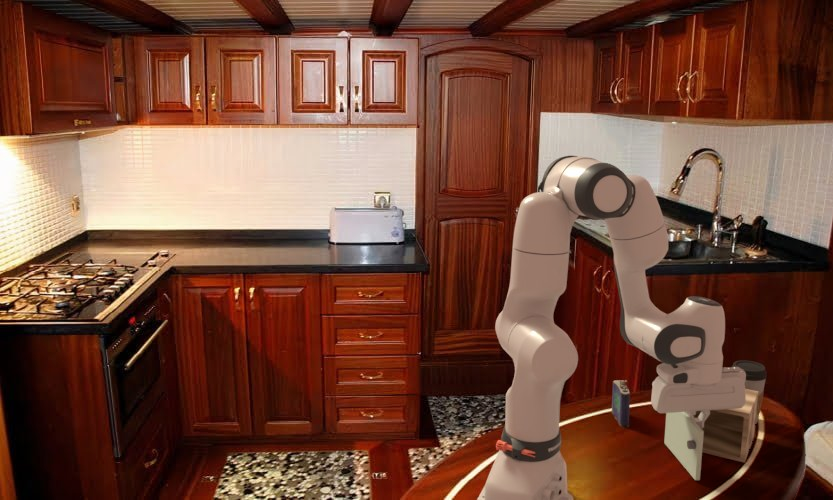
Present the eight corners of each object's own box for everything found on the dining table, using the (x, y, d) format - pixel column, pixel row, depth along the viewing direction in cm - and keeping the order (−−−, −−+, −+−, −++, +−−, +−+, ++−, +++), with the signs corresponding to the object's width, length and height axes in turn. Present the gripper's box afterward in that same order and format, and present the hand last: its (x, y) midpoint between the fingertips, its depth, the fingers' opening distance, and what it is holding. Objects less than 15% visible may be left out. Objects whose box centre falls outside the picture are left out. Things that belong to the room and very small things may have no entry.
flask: (610, 411, 187) (612, 373, 184) (621, 411, 187) (623, 373, 184) (620, 427, 178) (622, 388, 175) (632, 427, 178) (634, 387, 175)
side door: (689, 480, 152) (693, 431, 150) (659, 443, 169) (662, 398, 166) (699, 480, 153) (703, 431, 150) (668, 442, 169) (671, 398, 166)
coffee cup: (759, 431, 175) (765, 374, 171) (723, 423, 179) (728, 368, 176) (763, 418, 181) (769, 363, 178) (728, 411, 186) (733, 357, 182)
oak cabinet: (744, 462, 160) (749, 413, 158) (667, 443, 169) (670, 397, 167) (754, 437, 172) (758, 391, 169) (681, 420, 181) (684, 376, 178)
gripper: (738, 360, 158) (734, 417, 161) (649, 366, 157) (647, 423, 160) (753, 371, 152) (749, 430, 155) (661, 377, 151) (658, 436, 154)
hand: (696, 427), depth 158 cm, fingers closed
